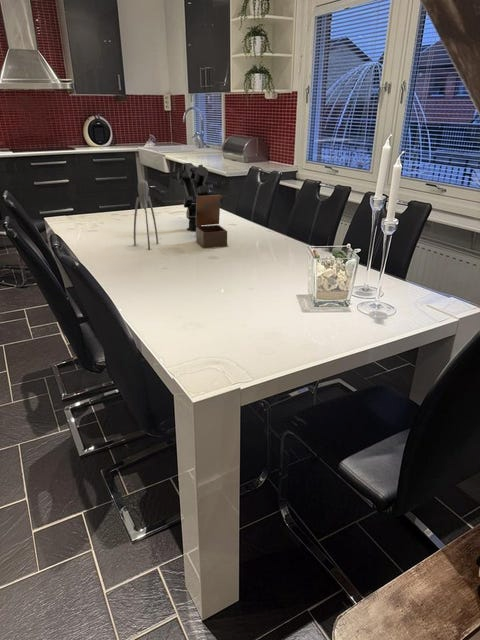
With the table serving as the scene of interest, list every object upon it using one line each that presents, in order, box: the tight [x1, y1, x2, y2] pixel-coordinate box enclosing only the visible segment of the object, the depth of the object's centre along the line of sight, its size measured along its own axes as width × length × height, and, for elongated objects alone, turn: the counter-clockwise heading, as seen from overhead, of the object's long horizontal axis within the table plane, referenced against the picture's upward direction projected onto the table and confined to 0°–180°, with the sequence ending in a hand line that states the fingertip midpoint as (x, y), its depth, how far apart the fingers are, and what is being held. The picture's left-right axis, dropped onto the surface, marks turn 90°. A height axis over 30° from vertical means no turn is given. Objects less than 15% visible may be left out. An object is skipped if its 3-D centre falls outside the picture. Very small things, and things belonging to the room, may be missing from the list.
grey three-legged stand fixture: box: [133, 179, 159, 251], centre depth 213 cm, size 11×10×30 cm
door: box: [196, 194, 221, 226], centre depth 223 cm, size 14×12×1 cm
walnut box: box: [195, 224, 228, 249], centre depth 223 cm, size 14×12×7 cm
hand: (206, 215), depth 226 cm, fingers closed
